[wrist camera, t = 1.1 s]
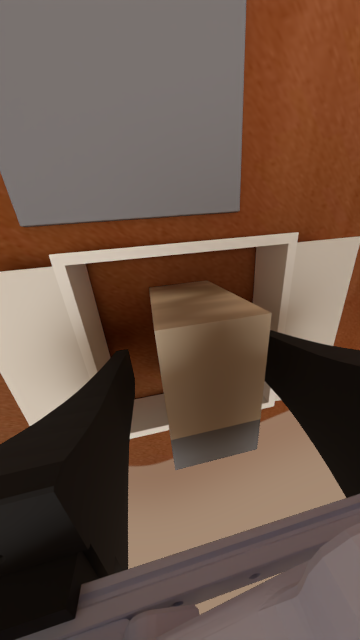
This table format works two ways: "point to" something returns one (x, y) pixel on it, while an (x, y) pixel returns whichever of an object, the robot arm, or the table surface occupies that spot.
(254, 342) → the block
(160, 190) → the mat
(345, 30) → the table surface
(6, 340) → the beige hollow rectangular frame
